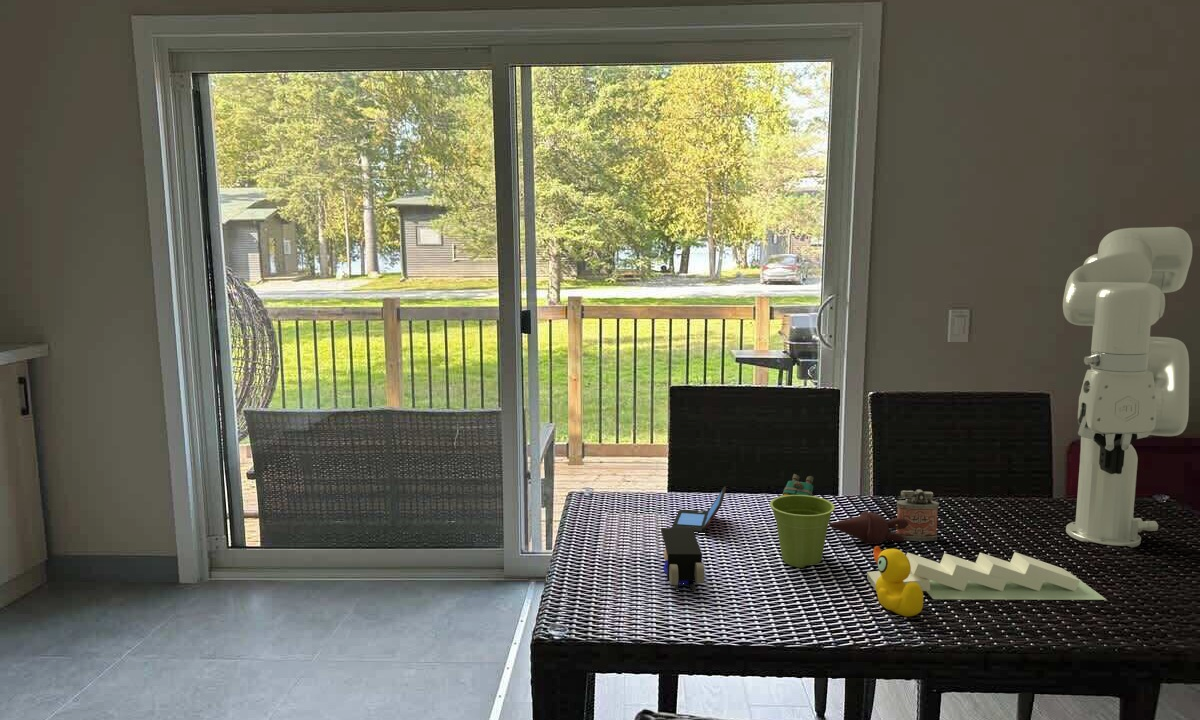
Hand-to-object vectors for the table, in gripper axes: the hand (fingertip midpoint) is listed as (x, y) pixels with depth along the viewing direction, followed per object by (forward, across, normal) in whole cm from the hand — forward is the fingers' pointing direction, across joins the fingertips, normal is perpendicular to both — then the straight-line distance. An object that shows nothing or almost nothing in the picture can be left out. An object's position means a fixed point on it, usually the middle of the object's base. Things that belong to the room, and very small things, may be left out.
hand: (1110, 471), depth 125 cm
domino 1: (+19, -29, +1) cm, 35 cm away
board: (+21, -16, +1) cm, 27 cm away
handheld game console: (+22, -66, +32) cm, 76 cm away
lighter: (+22, -22, +25) cm, 40 cm away
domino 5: (+20, -5, +1) cm, 20 cm away
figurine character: (+21, -71, +4) cm, 74 cm away
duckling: (+21, -37, -7) cm, 43 cm away
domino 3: (+20, -17, +1) cm, 26 cm away
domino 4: (+20, -11, +1) cm, 22 cm away
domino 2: (+19, -23, +1) cm, 30 cm away
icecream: (+22, -33, +21) cm, 45 cm away
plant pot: (+21, -48, +13) cm, 54 cm away
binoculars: (+22, -44, +35) cm, 60 cm away
